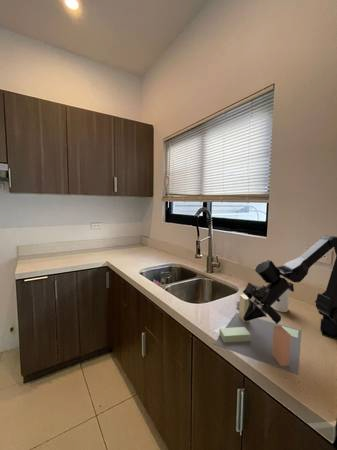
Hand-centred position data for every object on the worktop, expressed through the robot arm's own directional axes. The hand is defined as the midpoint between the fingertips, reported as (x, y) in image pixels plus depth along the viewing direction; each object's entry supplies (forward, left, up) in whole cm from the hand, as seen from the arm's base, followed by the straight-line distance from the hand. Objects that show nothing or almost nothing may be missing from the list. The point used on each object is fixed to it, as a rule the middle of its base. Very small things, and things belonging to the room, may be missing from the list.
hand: (244, 320), depth 82 cm
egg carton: (+5, -26, -8) cm, 28 cm away
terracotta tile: (-13, +6, -7) cm, 16 cm away
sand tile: (+3, -14, -7) cm, 16 cm away
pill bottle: (-8, -35, -7) cm, 37 cm away
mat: (-5, -4, -7) cm, 10 cm away
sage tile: (-1, -1, -5) cm, 6 cm away
